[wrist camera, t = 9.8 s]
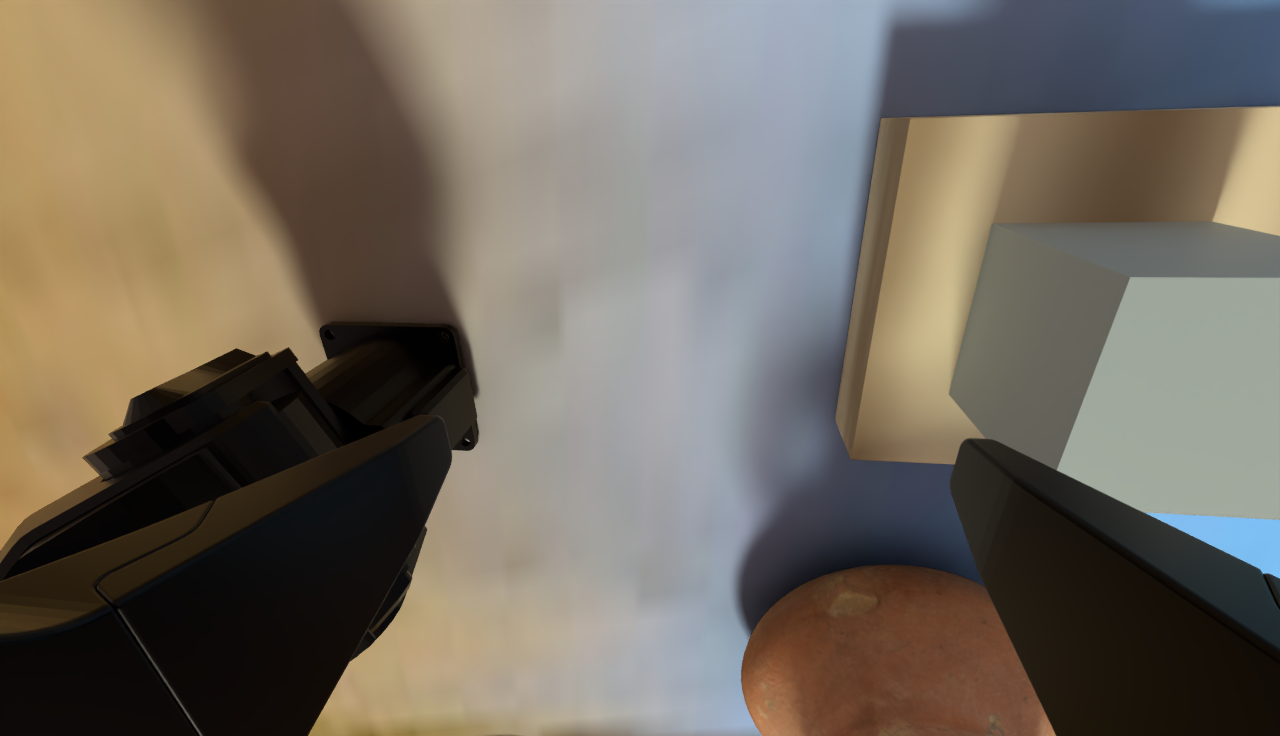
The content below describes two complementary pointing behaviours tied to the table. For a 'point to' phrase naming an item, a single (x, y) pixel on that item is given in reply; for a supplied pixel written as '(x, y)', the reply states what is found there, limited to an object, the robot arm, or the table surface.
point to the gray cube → (1133, 360)
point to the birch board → (1014, 193)
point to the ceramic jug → (888, 660)
